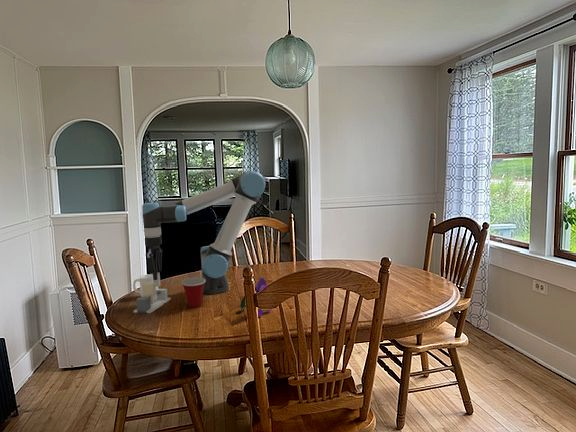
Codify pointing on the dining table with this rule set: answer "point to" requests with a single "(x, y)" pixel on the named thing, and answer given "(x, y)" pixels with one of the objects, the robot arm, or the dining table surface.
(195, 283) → the plastic cup
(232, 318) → the dining table surface
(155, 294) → the sleeve
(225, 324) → the dining table surface
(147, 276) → the cup
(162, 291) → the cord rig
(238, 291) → the dining table surface
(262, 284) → the flower
